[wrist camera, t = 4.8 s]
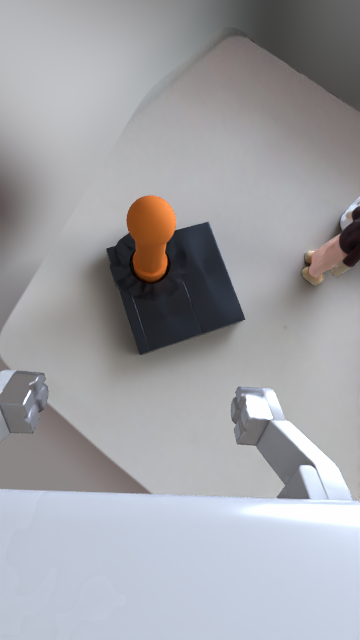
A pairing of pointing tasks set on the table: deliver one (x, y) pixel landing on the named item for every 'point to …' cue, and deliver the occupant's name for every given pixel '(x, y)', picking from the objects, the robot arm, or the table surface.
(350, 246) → the grandmother figurine
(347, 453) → the table surface
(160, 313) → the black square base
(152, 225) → the plug
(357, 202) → the die
